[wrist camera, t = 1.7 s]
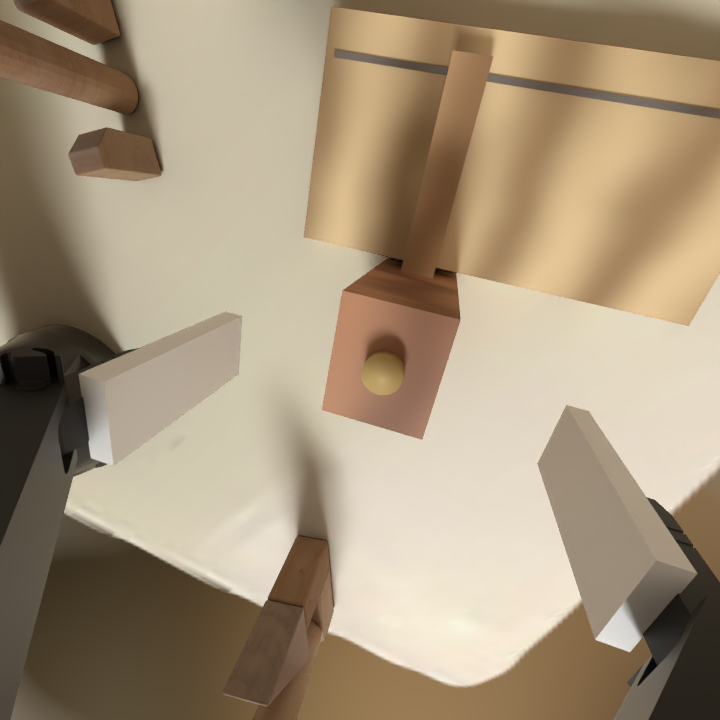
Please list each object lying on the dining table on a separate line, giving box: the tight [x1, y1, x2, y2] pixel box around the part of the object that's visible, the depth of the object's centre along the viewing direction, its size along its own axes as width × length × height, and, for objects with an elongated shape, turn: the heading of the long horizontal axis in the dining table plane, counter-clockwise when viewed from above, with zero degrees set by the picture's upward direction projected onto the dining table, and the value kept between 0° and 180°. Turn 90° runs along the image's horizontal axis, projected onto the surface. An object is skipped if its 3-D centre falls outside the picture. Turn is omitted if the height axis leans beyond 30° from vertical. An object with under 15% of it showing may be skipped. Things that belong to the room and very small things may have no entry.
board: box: [304, 7, 720, 326], centre depth 22 cm, size 24×12×3 cm, turn 79°
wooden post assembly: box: [223, 536, 334, 720], centre depth 32 cm, size 4×11×18 cm, turn 2°
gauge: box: [322, 50, 493, 439], centre depth 19 cm, size 5×17×13 cm, turn 169°
